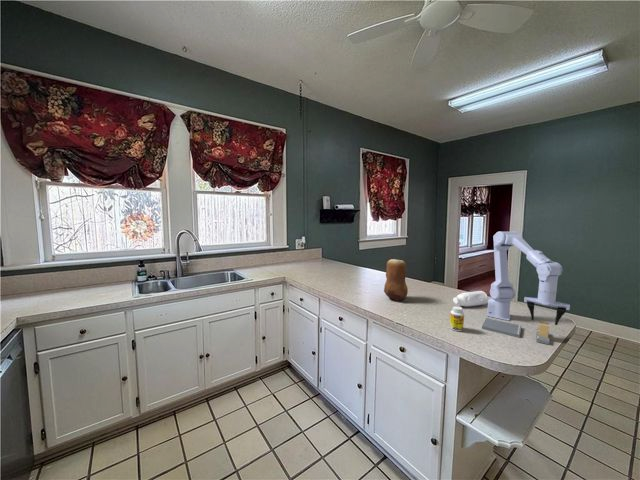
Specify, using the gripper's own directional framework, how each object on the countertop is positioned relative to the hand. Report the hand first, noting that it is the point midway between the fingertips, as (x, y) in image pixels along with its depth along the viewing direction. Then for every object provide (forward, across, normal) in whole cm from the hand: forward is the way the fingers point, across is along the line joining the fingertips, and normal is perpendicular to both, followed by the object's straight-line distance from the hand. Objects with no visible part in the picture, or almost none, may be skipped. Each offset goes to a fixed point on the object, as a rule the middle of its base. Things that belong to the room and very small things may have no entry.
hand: (544, 321), depth 112 cm
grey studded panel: (+7, -14, 0) cm, 16 cm away
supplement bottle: (+8, -30, -14) cm, 34 cm away
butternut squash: (+8, -70, +7) cm, 70 cm away
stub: (+7, 0, 0) cm, 7 cm away
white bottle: (+8, -31, +23) cm, 40 cm away
